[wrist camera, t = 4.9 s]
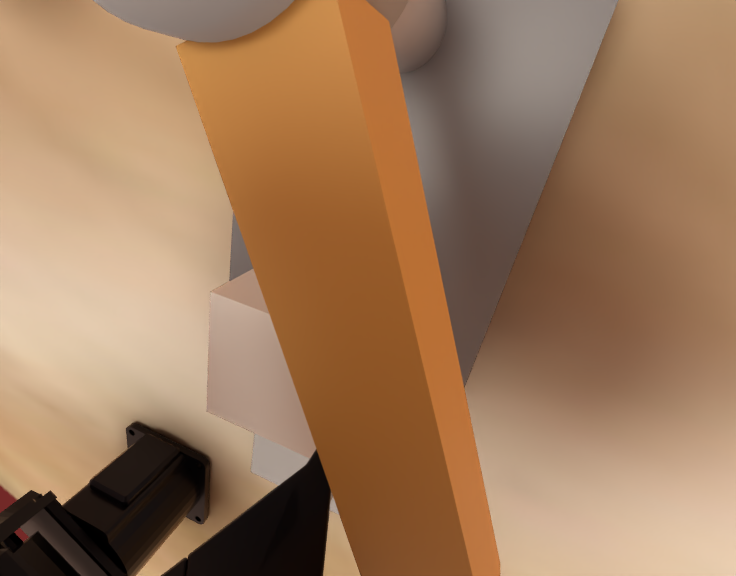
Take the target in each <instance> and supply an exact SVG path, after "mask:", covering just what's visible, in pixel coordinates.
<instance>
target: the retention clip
mask: <svg viewBox="0 0 736 576" xmlns="http://www.w3.org/2000/svg"><path fill="white" fill-rule="evenodd" d="M93 1H95V2H96V3H97V4H98V5H100V6H101V7H102V8H104V9H105V10H106V11H107V12H109V13H111V14H113V15H114V16H116V17H118V18H120V19H121V20H123V21H125V22H127V23H130V24H133V25H135V26H138V27H141V28H143V29H146V30H150V31H154V32H157V33H161V34H165V35H168V36H172V37H176V38H179V39H183V40H187V41H185V42H183V43H181V44H179V45H177V46H176V48H177V51H178V54H179V57H180V60H181V63H182V65H183V68H184V71H185V74H186V77H187V80H188V83H189V85H190V88H191V91H192V94H193V97H194V100H195V103H196V106H197V108H198V111H199V114H200V117H201V120H202V123H203V126H204V128H205V131H206V134H207V137H208V140H209V143H210V146H211V148H212V151H213V154H214V157H215V160H216V163H217V166H218V168H219V171H220V174H221V177H222V180H223V183H224V186H225V189H226V191H227V194H228V197H229V200H230V203H231V206H232V209H233V211H234V214H235V217H236V220H237V223H238V226H239V229H240V231H241V234H242V237H243V240H244V243H245V246H246V249H247V251H248V254H249V257H250V260H251V263H252V266H253V269H254V272H255V274H256V277H257V280H258V283H259V286H260V289H261V292H262V294H263V297H264V300H265V303H266V306H267V309H268V312H269V314H270V317H271V320H272V323H273V326H274V329H275V332H276V334H277V337H278V340H279V343H280V346H281V349H282V352H283V355H284V357H285V360H286V363H287V366H288V369H289V372H290V375H291V377H292V380H293V383H294V386H295V389H296V392H297V395H298V397H299V400H300V403H301V406H302V409H303V412H304V415H305V417H306V420H307V423H308V426H309V429H310V432H311V435H312V438H313V440H314V443H315V446H316V449H317V452H318V455H319V458H320V460H321V463H322V466H323V469H324V472H325V475H326V478H327V480H328V483H329V486H330V489H331V492H332V495H333V498H334V501H335V503H336V506H337V509H338V512H339V515H340V518H341V521H342V523H343V526H344V529H345V532H346V535H347V538H348V541H349V543H350V546H351V549H352V552H353V555H354V558H355V561H356V563H357V566H358V569H359V572H360V575H361V576H500V560H499V555H498V551H497V546H496V541H495V536H494V531H493V526H492V521H491V516H490V511H489V507H488V502H487V497H486V492H485V487H484V482H483V477H482V472H481V468H480V463H479V458H478V453H477V448H476V443H475V438H474V433H473V429H472V424H471V419H470V414H469V409H468V404H467V399H466V394H465V389H464V385H463V380H462V375H461V370H460V365H459V360H458V355H457V350H456V346H455V341H454V336H453V331H452V326H451V321H450V316H449V311H448V307H447V302H446V297H445V292H444V287H443V282H442V277H441V272H440V268H439V263H438V258H437V253H436V248H435V243H434V238H433V233H432V228H431V224H430V219H429V214H428V209H427V204H426V199H425V194H424V189H423V185H422V180H421V175H420V170H419V165H418V160H417V155H416V150H415V146H414V141H413V136H412V131H411V126H410V121H409V116H408V111H407V106H406V102H405V97H404V92H403V87H402V82H401V77H400V72H399V67H398V63H397V58H396V53H395V48H394V43H393V38H392V33H391V28H392V27H393V25H394V24H395V23H396V21H397V20H398V18H399V17H400V15H401V14H402V12H403V10H404V9H405V7H406V5H407V3H408V1H409V0H93Z"/></svg>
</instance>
